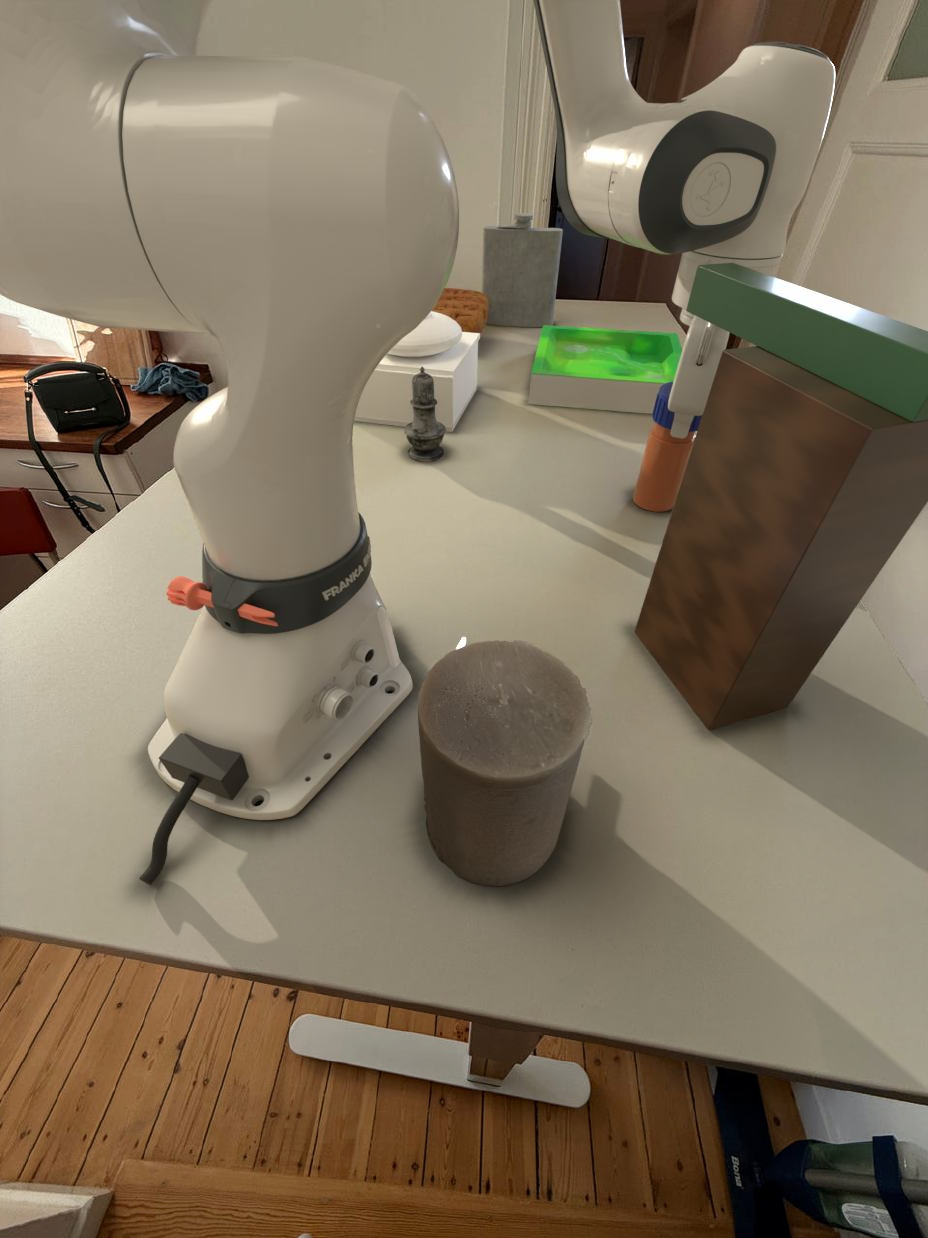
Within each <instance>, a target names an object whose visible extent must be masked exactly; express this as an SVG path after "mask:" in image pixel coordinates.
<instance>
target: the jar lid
mask: <svg viewBox="0 0 928 1238" xmlns="http://www.w3.org/2000/svg"><path fill="white" fill-rule="evenodd" d="M672 385H673V382H668V383H665V384H663V385H662V386H661V387H660V389H659V393H658V394H657V398H656V402H655V406H654V410H653V414H652V420H653V422H654V423H655V422H656V423H657V424H658V425H660V426H662V427H664V428H667V429H670V430H671V428H672V425H673V421H674V415H675V412H672V411H670V410H669V409H668V400H669V396H670V393H671V389H672ZM701 418H702V415H701V416H694V418H693V420H692V423H691V425H690V429H689V432H694V431H695V432H697V431H698V428H699V424H700V421H701Z"/></svg>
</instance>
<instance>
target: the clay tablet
mask: <svg viewBox="0 0 928 1238" xmlns="http://www.w3.org/2000/svg"><path fill="white" fill-rule="evenodd" d="M488 310H489V299H488V297H487V296H486V295H484V294H483V293H482V291H478V290H473V289H464V288H452V287H445V288H444V291H443V293H442V295H441V297H440V298H439V300H438V302H437V303H436V305H435V306H434V308H433V309H432V311H433V312H437V313H440V314H443V315H446V316H448V317H450V318H452V319H453V320H455V321H456V322H457V323H458V324H459V326H460V327H461V329H462V332H470V333H480V336H481V335H482V333H483V331H484V328H485V326H486V324H485V323H486V321H487V317H488Z"/></svg>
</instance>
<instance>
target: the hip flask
mask: <svg viewBox="0 0 928 1238" xmlns="http://www.w3.org/2000/svg"><path fill="white" fill-rule="evenodd" d="M513 218H514V220H515V222H514V224H499V225H498V226H496V225H484V226H483V229H482V230H483V231H482V233H483V234H482V268H481V269H482V270H481V271H482V272H481V273H482V274H481V293H483V294H484V295H486V296H487V297H488V299H489V310H488V317H487V321H486V323H485V325H491V326H501V327H519V328H543V325H550V326H554V316H555V306H556V297H557V296H556V295H557V290H558V289H557V287H558V281H559V279H558V278H559V270H560V260H561V252H562V242H563V234H564V233H563V232H564V229H563V228H560V227H532V221H533V220H534V219H533V218H534V214H532V213H529V212H521V213H520V212H518V213H515V214H514V217H513Z"/></svg>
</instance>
